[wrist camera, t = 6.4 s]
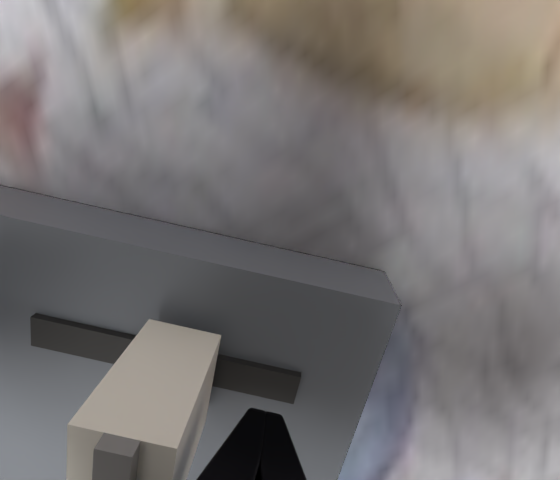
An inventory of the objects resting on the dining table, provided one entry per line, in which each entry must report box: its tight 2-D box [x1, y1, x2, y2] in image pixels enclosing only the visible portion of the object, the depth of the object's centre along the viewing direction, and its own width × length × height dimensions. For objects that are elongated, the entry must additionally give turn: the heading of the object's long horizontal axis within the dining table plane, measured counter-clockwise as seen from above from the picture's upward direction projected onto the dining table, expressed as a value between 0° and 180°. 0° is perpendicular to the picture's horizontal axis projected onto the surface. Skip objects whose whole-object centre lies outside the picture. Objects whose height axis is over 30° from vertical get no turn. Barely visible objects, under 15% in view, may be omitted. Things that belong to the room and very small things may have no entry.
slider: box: [66, 319, 221, 480], centre depth 8 cm, size 2×3×4 cm, turn 168°
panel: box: [0, 185, 402, 480], centre depth 11 cm, size 16×16×4 cm
